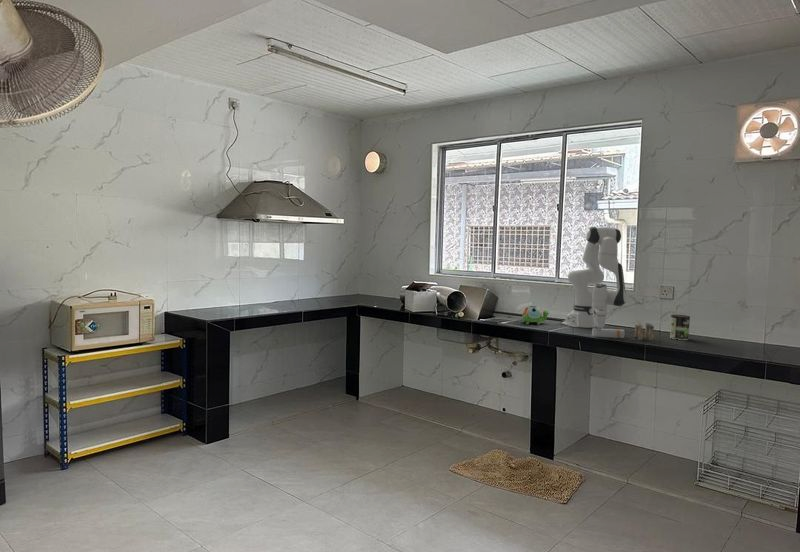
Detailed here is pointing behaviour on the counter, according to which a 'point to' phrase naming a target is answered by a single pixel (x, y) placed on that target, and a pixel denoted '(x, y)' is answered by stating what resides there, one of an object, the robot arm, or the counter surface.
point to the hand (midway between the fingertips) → (598, 333)
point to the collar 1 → (639, 331)
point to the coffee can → (679, 327)
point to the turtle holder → (534, 315)
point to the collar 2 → (649, 331)
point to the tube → (609, 333)
